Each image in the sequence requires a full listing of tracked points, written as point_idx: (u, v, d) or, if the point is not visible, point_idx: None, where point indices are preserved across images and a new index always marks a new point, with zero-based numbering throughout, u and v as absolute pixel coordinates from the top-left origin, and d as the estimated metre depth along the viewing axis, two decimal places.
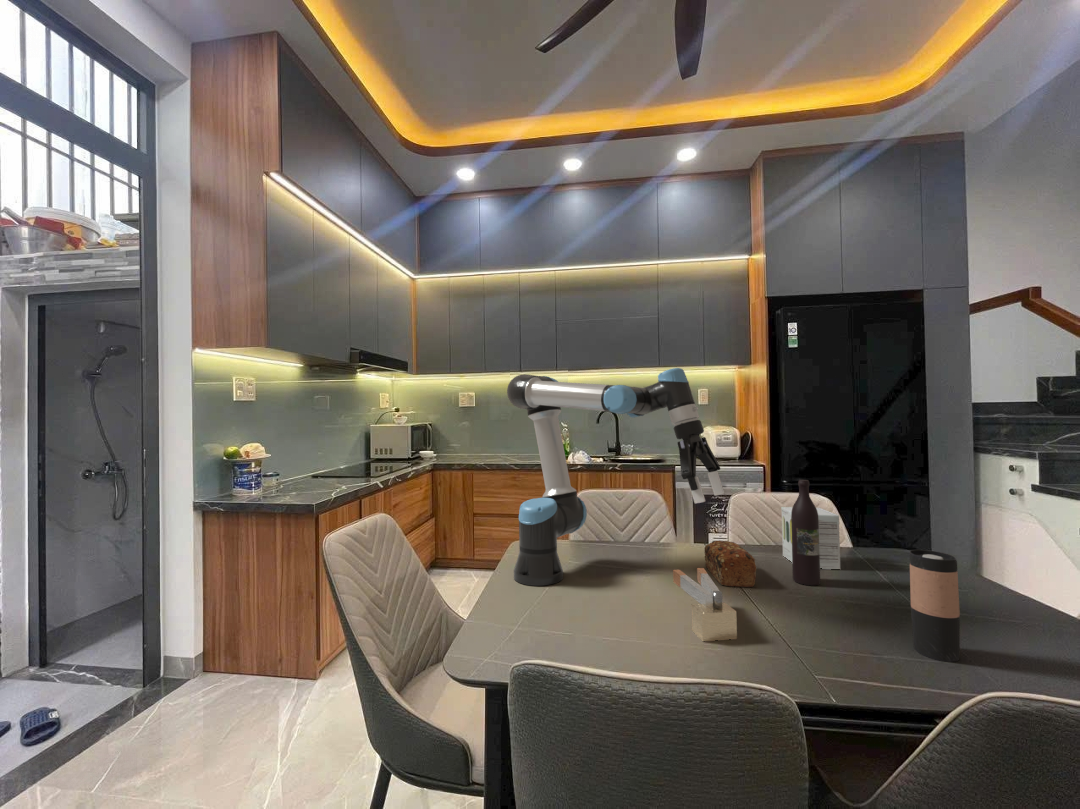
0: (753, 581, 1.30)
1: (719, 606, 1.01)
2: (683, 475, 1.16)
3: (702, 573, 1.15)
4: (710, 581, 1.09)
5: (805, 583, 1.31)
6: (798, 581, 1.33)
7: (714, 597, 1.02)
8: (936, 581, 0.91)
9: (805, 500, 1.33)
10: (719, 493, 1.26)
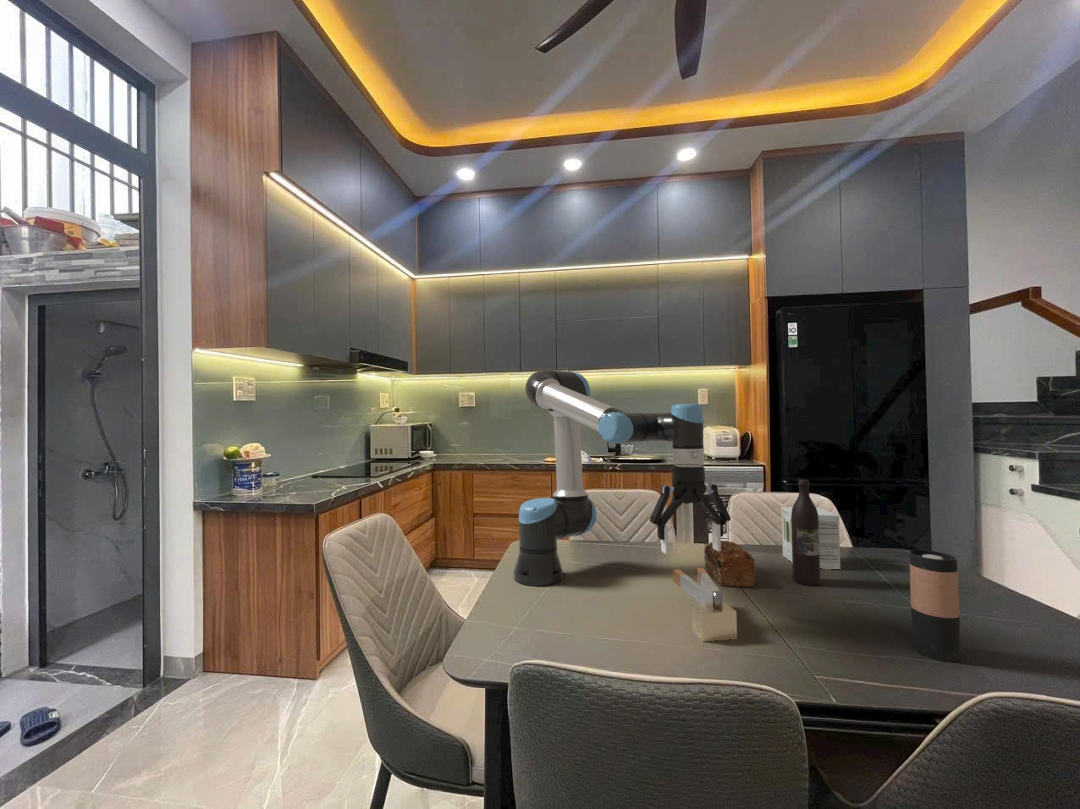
0: (753, 581, 1.30)
1: (719, 606, 1.01)
2: (650, 521, 1.12)
3: (702, 573, 1.15)
4: (710, 581, 1.09)
5: (805, 583, 1.31)
6: (798, 581, 1.33)
7: (714, 597, 1.02)
8: (936, 581, 0.91)
9: (805, 500, 1.33)
10: (715, 548, 1.13)
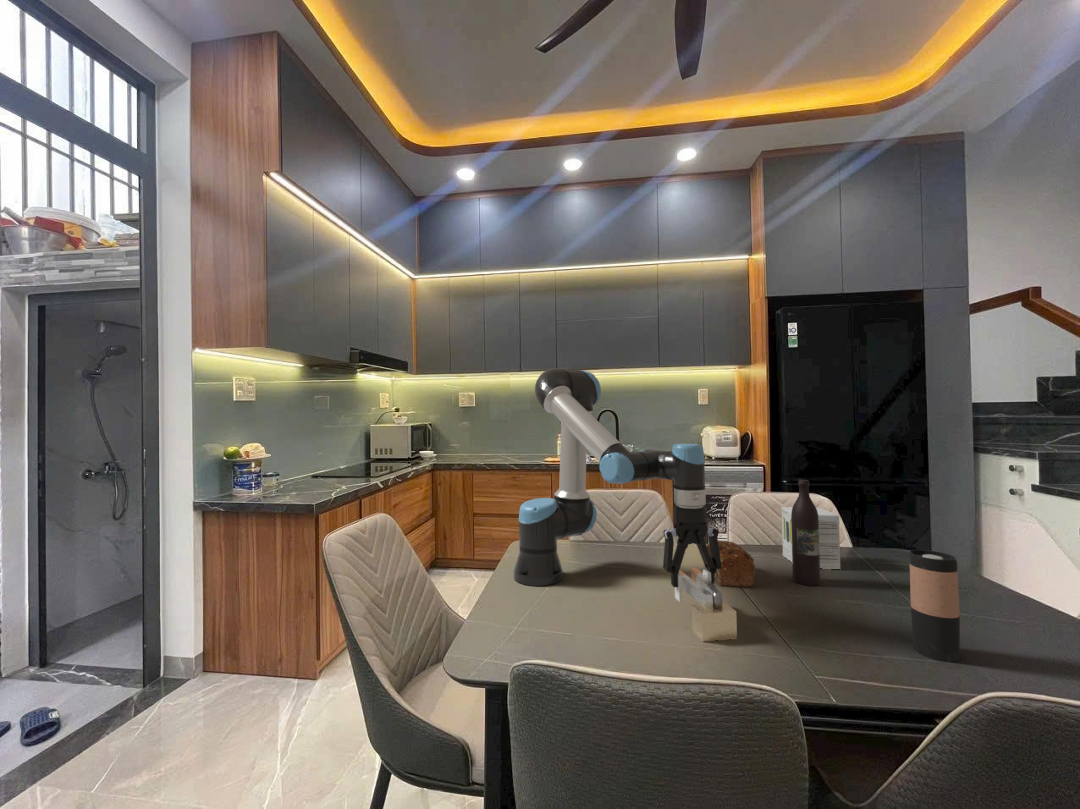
0: (752, 581, 1.30)
1: (719, 606, 1.01)
2: (664, 568, 1.13)
3: (697, 573, 1.15)
4: (707, 581, 1.09)
5: (805, 583, 1.31)
6: (798, 581, 1.33)
7: (714, 597, 1.01)
8: (936, 581, 0.91)
9: (805, 500, 1.33)
10: None
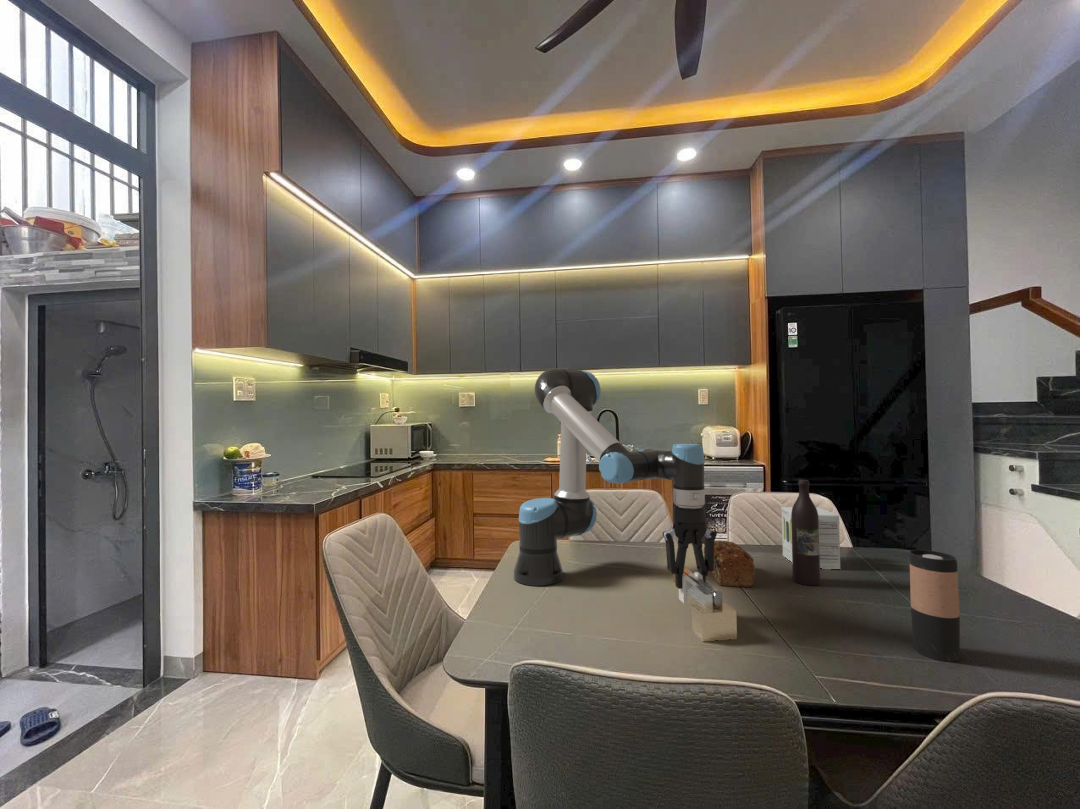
0: (752, 581, 1.30)
1: (720, 606, 1.01)
2: (668, 569, 1.13)
3: (689, 573, 1.15)
4: (702, 581, 1.09)
5: (805, 583, 1.31)
6: (798, 581, 1.33)
7: (715, 597, 1.01)
8: (936, 581, 0.91)
9: (805, 500, 1.33)
10: None
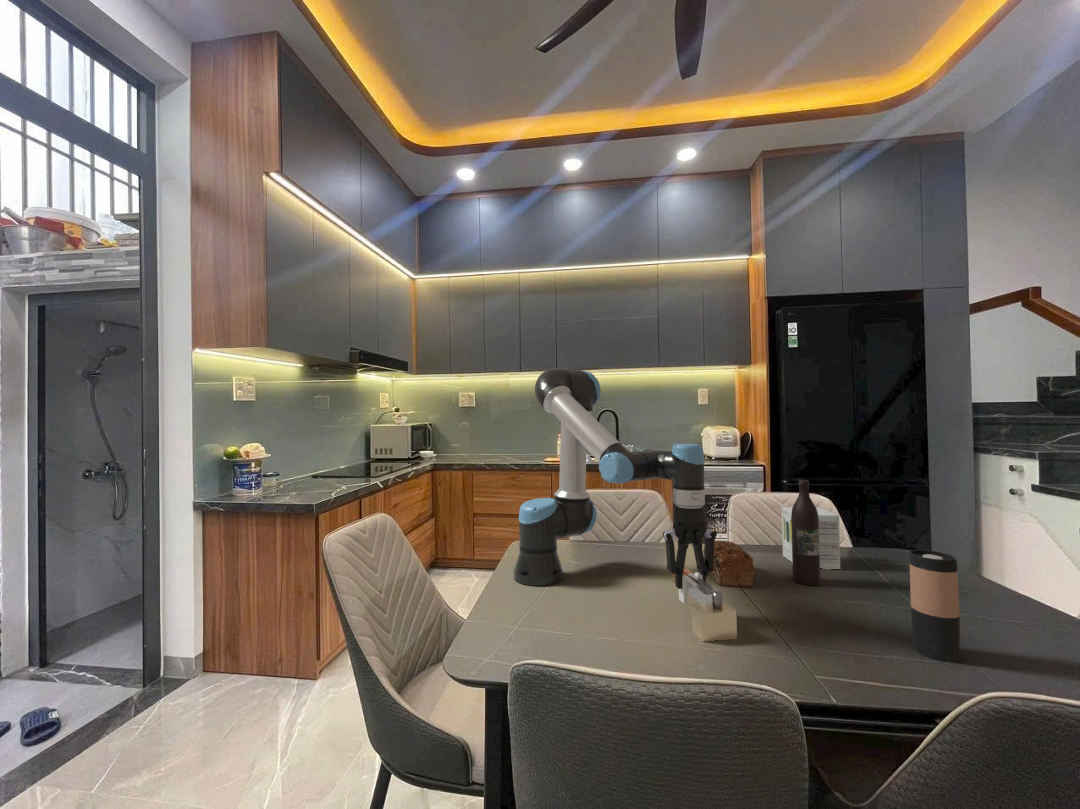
0: (751, 581, 1.30)
1: (720, 606, 1.01)
2: None
3: (689, 573, 1.15)
4: (702, 581, 1.09)
5: (805, 583, 1.31)
6: (798, 581, 1.33)
7: (715, 597, 1.01)
8: (936, 581, 0.91)
9: (805, 500, 1.33)
10: None
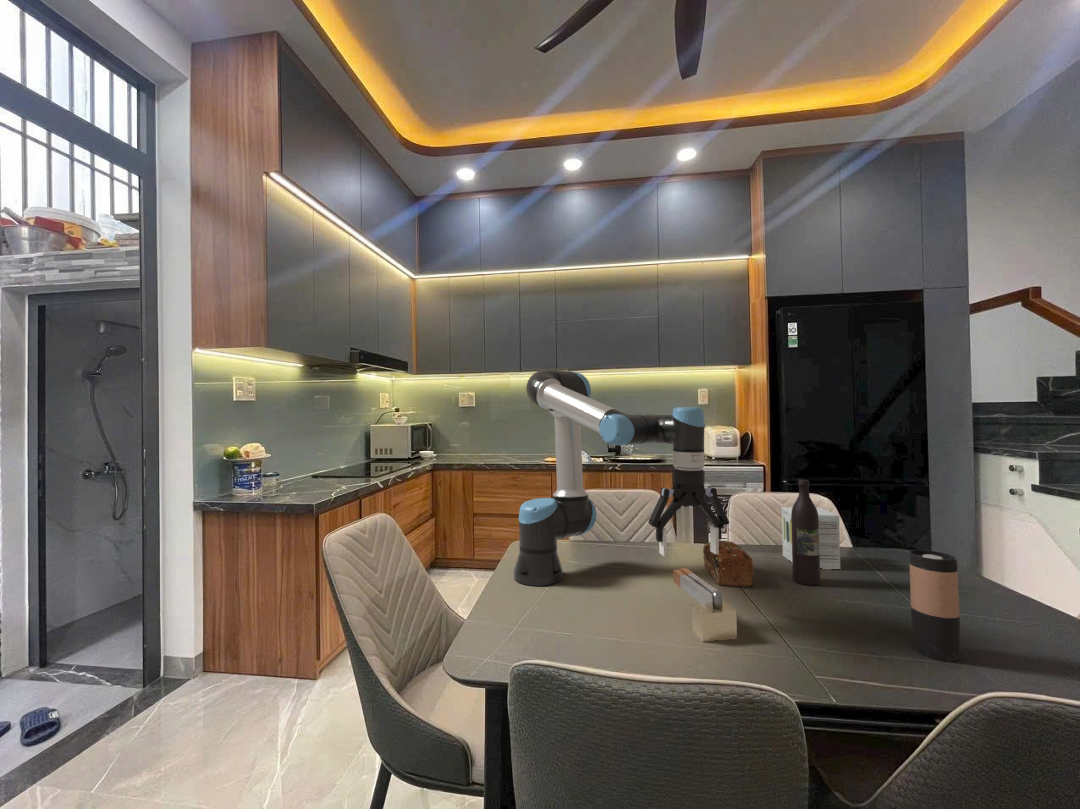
0: (750, 581, 1.30)
1: (720, 606, 1.01)
2: (649, 523, 1.13)
3: (689, 573, 1.15)
4: (702, 581, 1.09)
5: (805, 583, 1.31)
6: (798, 581, 1.33)
7: (715, 597, 1.01)
8: (936, 581, 0.91)
9: (805, 500, 1.33)
10: (713, 551, 1.14)
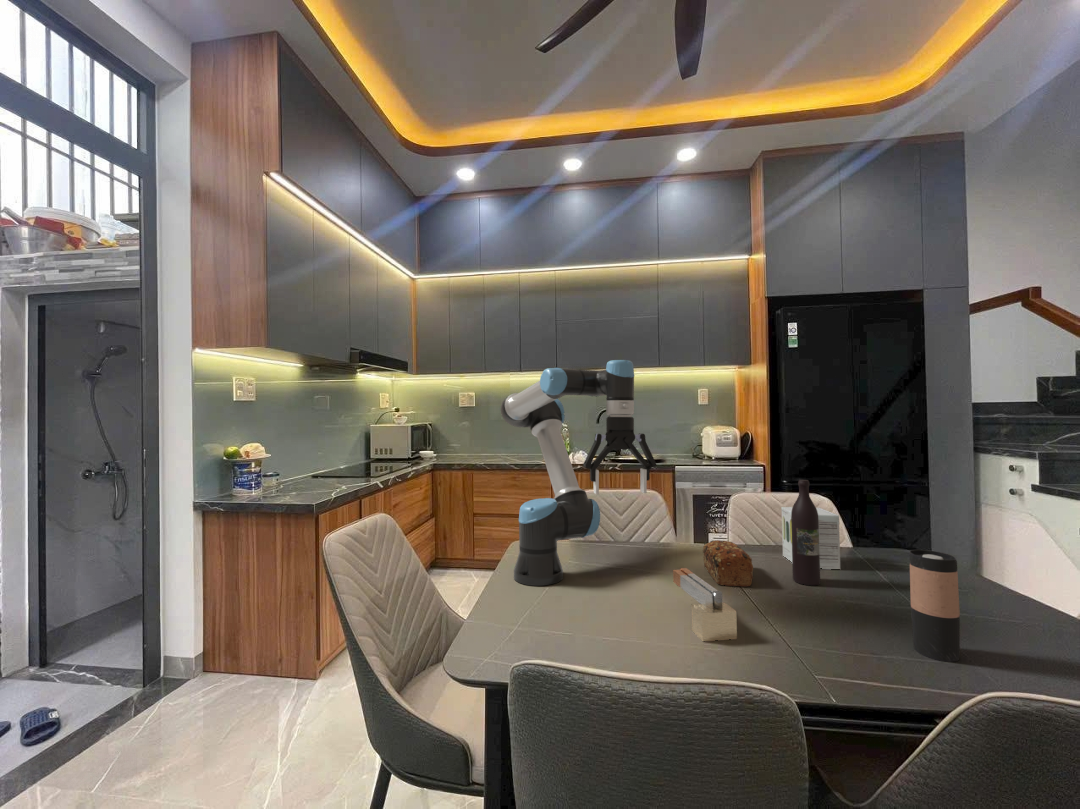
0: (750, 581, 1.30)
1: (720, 606, 1.01)
2: (584, 465, 1.25)
3: (689, 573, 1.15)
4: (702, 581, 1.09)
5: (805, 583, 1.31)
6: (798, 581, 1.33)
7: (715, 597, 1.01)
8: (936, 581, 0.91)
9: (805, 500, 1.33)
10: (642, 491, 1.26)
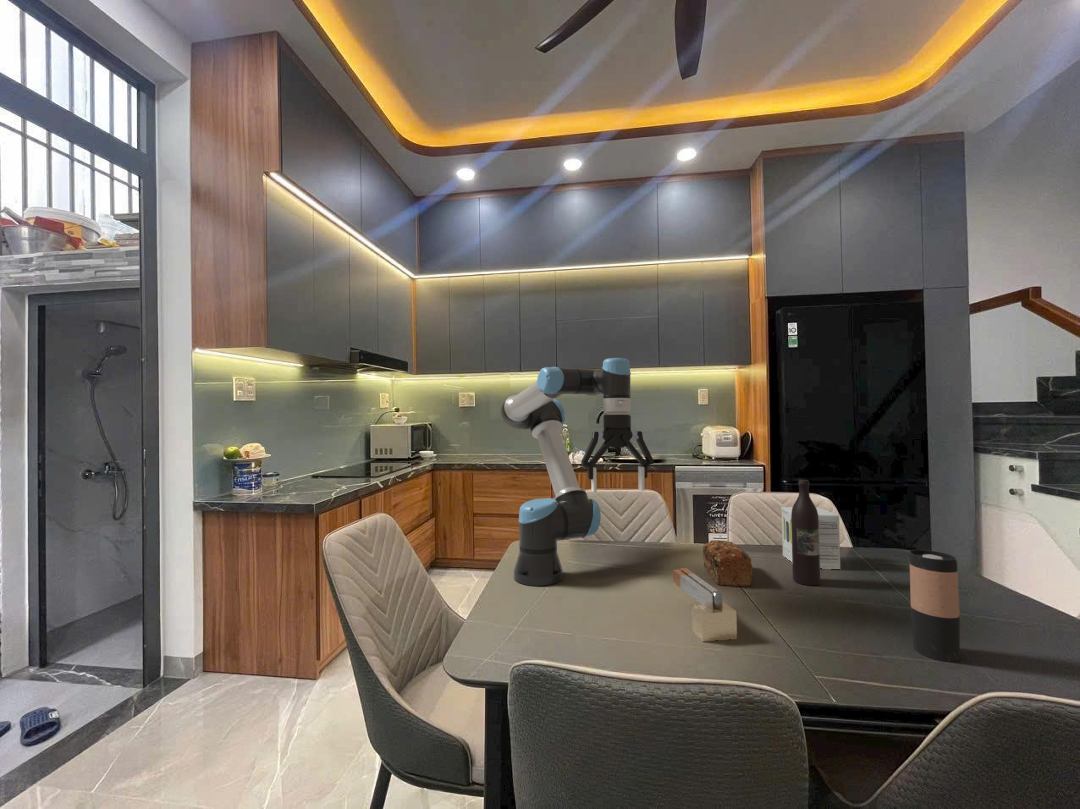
0: (749, 581, 1.31)
1: (720, 606, 1.01)
2: (581, 463, 1.25)
3: (689, 573, 1.15)
4: (702, 581, 1.09)
5: (805, 583, 1.31)
6: (798, 581, 1.33)
7: (715, 597, 1.01)
8: (936, 581, 0.91)
9: (805, 500, 1.33)
10: (640, 488, 1.26)
